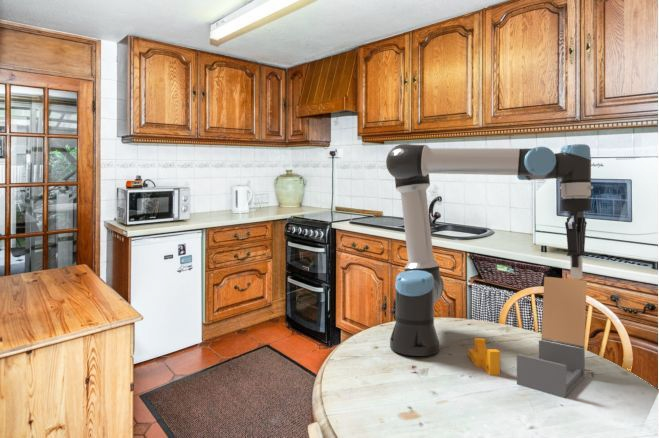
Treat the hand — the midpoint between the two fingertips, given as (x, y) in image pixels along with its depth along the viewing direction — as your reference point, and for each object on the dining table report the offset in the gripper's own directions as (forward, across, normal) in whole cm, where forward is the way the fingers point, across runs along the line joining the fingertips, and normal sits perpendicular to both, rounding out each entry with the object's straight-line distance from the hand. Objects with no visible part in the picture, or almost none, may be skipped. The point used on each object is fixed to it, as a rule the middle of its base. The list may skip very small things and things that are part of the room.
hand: (576, 278), depth 120 cm
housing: (+24, -21, +1) cm, 32 cm away
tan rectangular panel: (+16, -12, 0) cm, 20 cm away
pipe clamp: (+24, -24, +17) cm, 39 cm away
